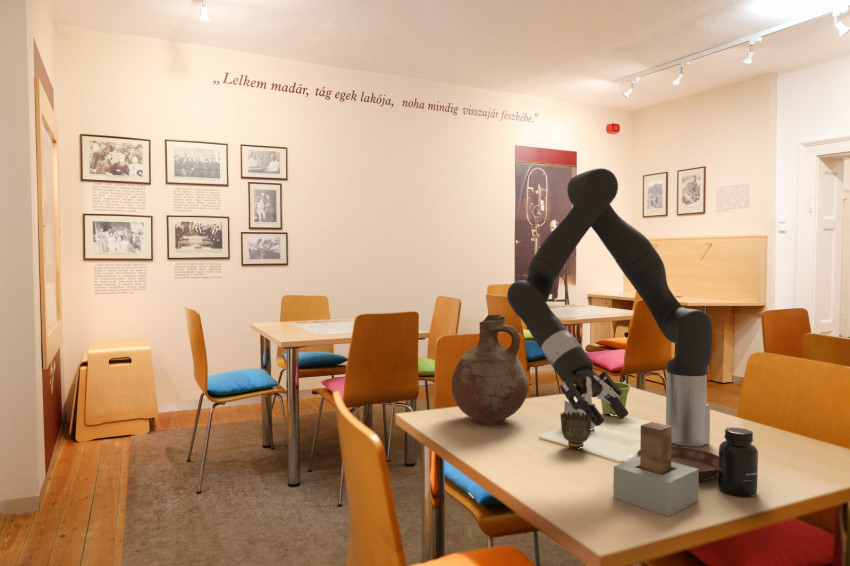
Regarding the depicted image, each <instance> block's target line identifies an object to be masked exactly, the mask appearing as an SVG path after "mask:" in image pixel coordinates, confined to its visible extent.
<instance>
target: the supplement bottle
mask: <svg viewBox="0 0 850 566" xmlns="http://www.w3.org/2000/svg"><path fill="white" fill-rule="evenodd" d="M753 437H754V433H753V431H752V430H750V429H746V428H742V427H726V428H725V429H724V439H725V440H724V441H722V442H721V443H720V444H719V446H718V447H719V448H718V456H719V468H718V475H717V480H718V481H717V485H718V489H719V490H720V491H721V492H723V493H725V494H728V495H731V496H736V497H742V498H743V497H745V498H748V497H754V496H756V495H757V493H758V477H759V476H758V474H759V473H758V472H759V469H758V468H759V450H758V449H757V447H756V446H755V445H754V444H752V443H753V442H754V438H753Z"/></svg>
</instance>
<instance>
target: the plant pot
mask: <svg viewBox="0 0 850 566" xmlns="http://www.w3.org/2000/svg"><path fill="white" fill-rule="evenodd" d="M613 382H614V383H615V384H616V385H617V387H618V388H619V389H620V390H621V392H622V394H621V395H620V396H619V397H618V398H619V400H620V401H621V403H622V404H623V406H624V407H625V408H626V405H627V398H628V394H629V391H630V389H631V388H632V387H631V385H630V384H628V383H625V382H619V381H617V382H616V381H613ZM610 389H611V390H613V391H614V389H613V388H612V387H611V388H610ZM602 390H604V389H603V388H602ZM614 392H615V391H614ZM606 396H608V394H606ZM608 397H609V396H608ZM600 403H601V409H602V414H603V415H605V414H612V415H617V414H616V413H615V412H614V410H613V409H612V408H611V406H610V404H609V403H608V402H606V401H605V400H603V399H600Z"/></svg>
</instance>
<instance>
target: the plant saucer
mask: <svg viewBox="0 0 850 566" xmlns="http://www.w3.org/2000/svg"><path fill="white" fill-rule="evenodd" d="M636 456H637V457H640V449H638V450H637V452H636ZM671 462H674V463H678V464H682V465H685V466H689V467H693V468H697V469H699V480H698V482H700V481H706V480H707V481H709V480H711V479H713V478H716V476H717V477H718V468H719V455H717V454H715V453H713V452H710V451H706V450H702V449H699V448H692V447H688V446H681V445H671Z"/></svg>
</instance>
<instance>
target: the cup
mask: <svg viewBox="0 0 850 566" xmlns="http://www.w3.org/2000/svg"><path fill="white" fill-rule="evenodd" d="M559 415H560V425H561V431H562V435H563V438H564V439H565V440H566V441H567V446H568V447H569V448H571V449H573V450H579V449H578V448H580V447H583V448H584V445H585V444H584V442H586V441H588V439H589V437H590V433H591V430H590V429H591V419H590V418H589V417H588V416H587V414H586V415H584V412H583V413H582V415H580V414H579V412H577V413H575V412H573V413H572V414H570V412H568V414H566V413H565V412H564V411H562V413H559Z"/></svg>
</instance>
